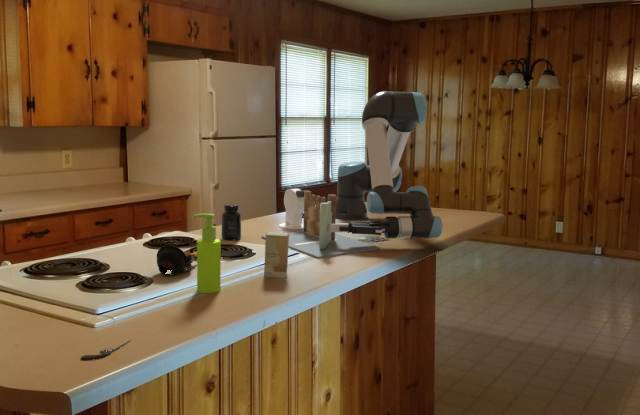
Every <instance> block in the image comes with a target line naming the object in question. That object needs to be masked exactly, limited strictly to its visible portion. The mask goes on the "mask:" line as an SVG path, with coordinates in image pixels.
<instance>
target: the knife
mask: <svg viewBox="0 0 640 415" xmlns="http://www.w3.org/2000/svg"><path fill="white" fill-rule="evenodd" d="M130 342H132V339H130V340H128V341H126V342H125V343H123V344H120V345H119V346H118V347H115V348H116V349H114V350H113V349H112V348H111V349H112V351H108V350H107V352H106V350H105V349H103V350H104V351H103V350H100V351H99V353H100V354H88V355H87V354H85V355H83V356H81V358H80V361H94V360H93V359H95V360H100V359H99V358H101V359H104V358H106V357H105V356H107V355H108V356H110V355H112V354H113V353H114V352H116V351H117V350H118V349H121V348H122V347H124V346H126V345H127V344H129V343H130ZM120 347H121V348H120ZM115 350H116V351H115ZM112 352H113V353H112ZM111 353H112V354H111ZM109 354H110V355H109ZM108 356H107V357H108ZM103 357H104V358H103Z"/></svg>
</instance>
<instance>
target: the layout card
mask: <svg viewBox="0 0 640 415" xmlns="http://www.w3.org/2000/svg"><path fill="white" fill-rule="evenodd" d="M288 233H289V244H288V249H292V250H293V251H297V252H299V253H302V254H305V255H307V256H310V257H313V258H314V259H315V258H316V259H324V258H331V257H337V256H342V255H343V256H344V255H350V254H357V253H363V252H369V251H376V250H380V248H381V247H380V246H376V245H373V244H370V243H367V242H363V241H360V240H357V239H355V238H351V237H347V236H344V235H341V234H337V233H335V240H334V241H330V243H329V244H328V245H327V246H326V249H320V248H319V237H320V236H317V235H314V234H311V233H308V232H304V231H303V230H301V231H291V232H288ZM261 238H262V239H264V240H266V235H261Z"/></svg>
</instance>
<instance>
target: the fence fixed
mask: <svg viewBox="0 0 640 415" xmlns="http://www.w3.org/2000/svg"><path fill="white" fill-rule="evenodd" d="M336 199H337V194H327V198H326V197H325V196H320V195H316V194H312V191H311V190H306V191H304V212H303V213H304V217H303V224H304V226H303V229H302V231H304V232H308V233H311V234H314V235H317V236H320V207H321V203H327V202H328V201H331V212H332V224H335V223H337V222H336V220H337V218H336ZM326 200H327V201H326ZM335 234H336V232H332V235H331V241H334V240H335Z"/></svg>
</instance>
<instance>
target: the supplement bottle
mask: <svg viewBox="0 0 640 415" xmlns="http://www.w3.org/2000/svg"><path fill="white" fill-rule="evenodd" d="M223 208H224V209H223V210H224V212H222V213H221V239H223V240H226V241H236V240H240V239H241V238H242V214H241V212H239V205H238V204H237V203H225V204H224V206H223Z"/></svg>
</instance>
